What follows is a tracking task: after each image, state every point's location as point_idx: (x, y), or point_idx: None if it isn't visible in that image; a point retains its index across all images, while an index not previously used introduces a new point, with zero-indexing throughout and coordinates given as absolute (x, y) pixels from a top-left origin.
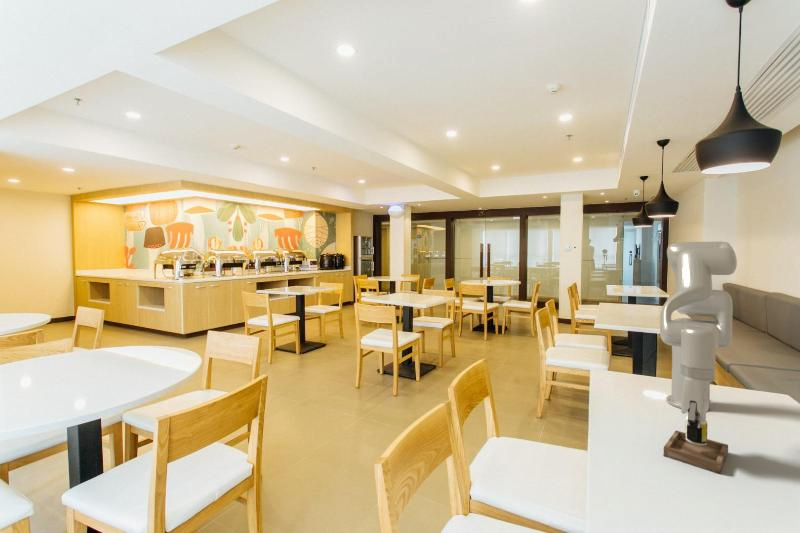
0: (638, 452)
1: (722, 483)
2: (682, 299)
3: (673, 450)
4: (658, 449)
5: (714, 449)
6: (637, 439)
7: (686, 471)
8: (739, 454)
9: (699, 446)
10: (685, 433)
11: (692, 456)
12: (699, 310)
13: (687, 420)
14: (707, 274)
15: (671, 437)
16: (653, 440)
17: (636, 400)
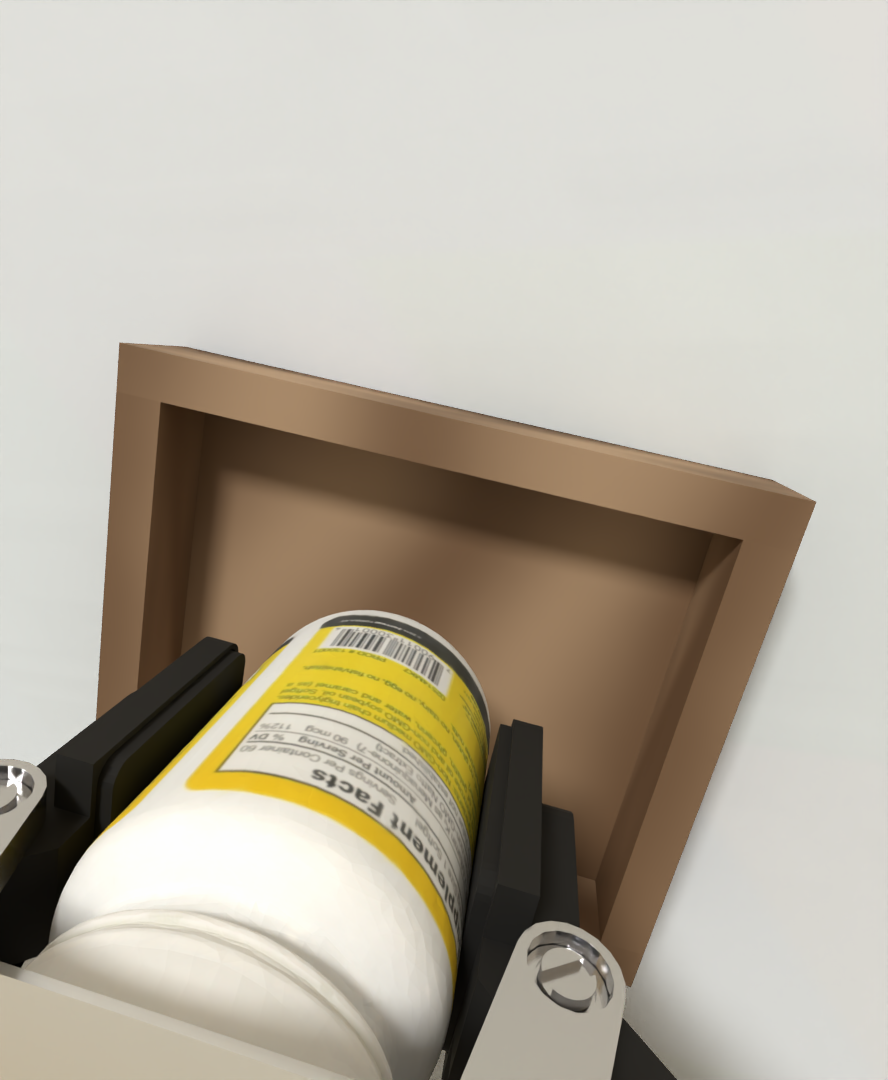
0: (93, 77)
1: (14, 751)
2: None
3: (116, 448)
4: (317, 290)
5: (603, 822)
6: (466, 8)
7: (16, 532)
8: (662, 983)
9: (600, 703)
10: (345, 638)
11: (108, 620)
12: None
13: (133, 811)
14: None
15: (493, 436)
16: (554, 219)
17: None
